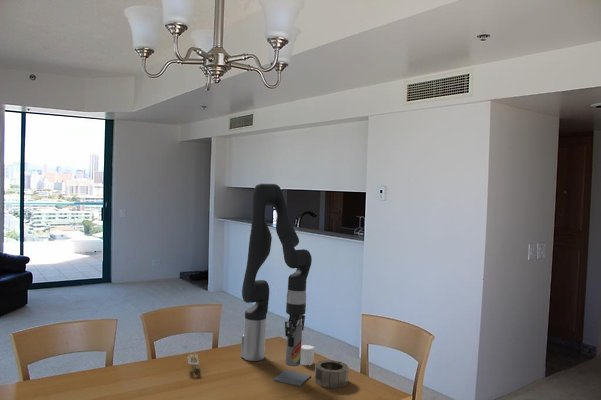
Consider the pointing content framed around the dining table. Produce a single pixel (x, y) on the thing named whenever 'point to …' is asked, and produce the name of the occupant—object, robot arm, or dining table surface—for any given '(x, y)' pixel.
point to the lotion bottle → (295, 347)
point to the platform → (191, 362)
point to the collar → (331, 374)
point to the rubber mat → (292, 377)
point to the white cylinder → (307, 354)
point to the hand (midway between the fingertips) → (294, 344)
